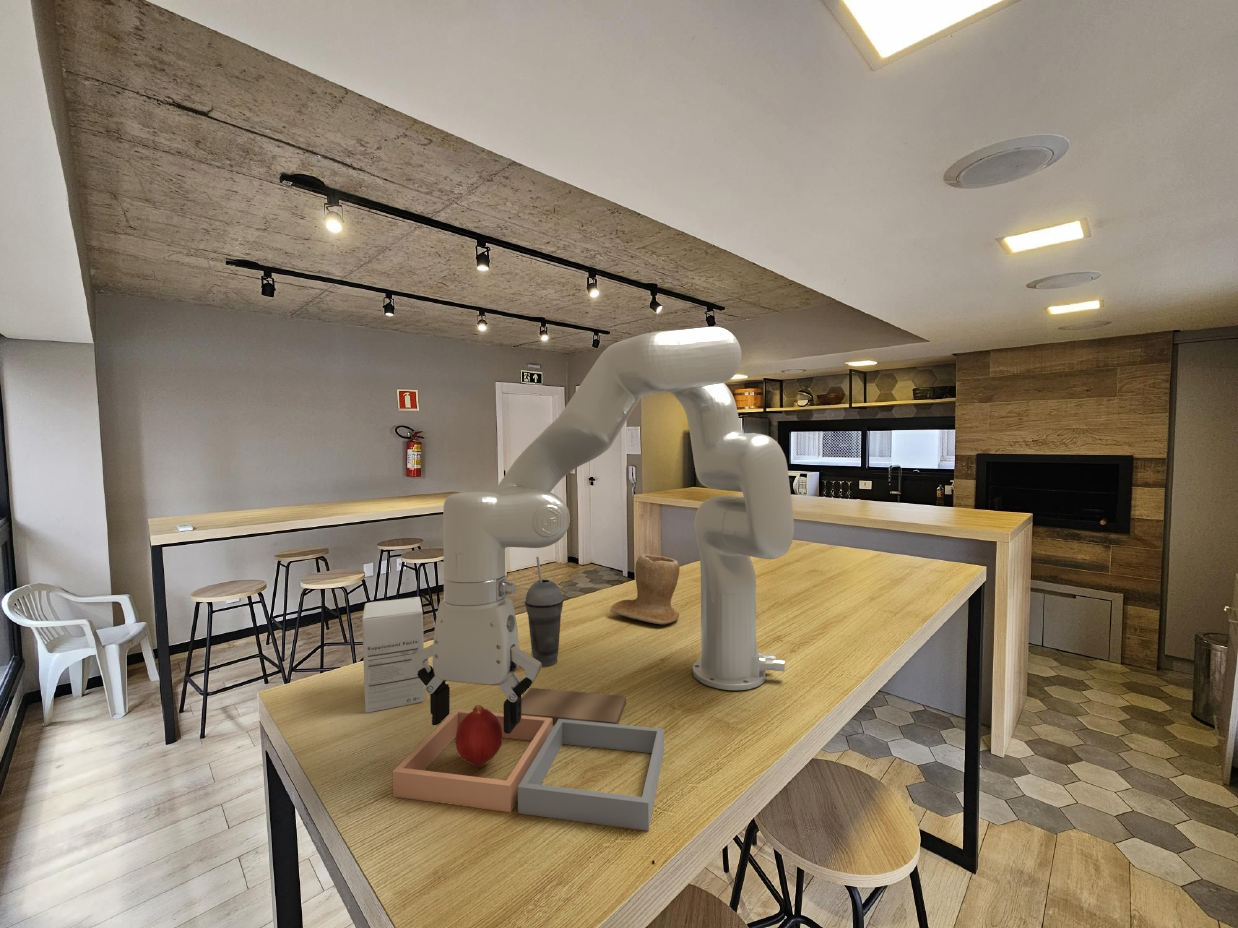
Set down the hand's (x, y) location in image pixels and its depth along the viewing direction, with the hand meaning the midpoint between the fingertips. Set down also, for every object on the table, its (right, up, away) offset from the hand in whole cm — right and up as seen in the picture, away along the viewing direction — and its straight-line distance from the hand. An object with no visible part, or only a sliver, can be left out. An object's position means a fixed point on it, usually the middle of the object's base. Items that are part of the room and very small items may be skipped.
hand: (475, 723), depth 66 cm
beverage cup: (+4, -5, +32) cm, 33 cm away
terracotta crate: (0, -6, 0) cm, 6 cm away
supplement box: (-19, -5, +20) cm, 28 cm away
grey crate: (+16, -5, -3) cm, 17 cm away
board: (+11, -5, +14) cm, 18 cm away
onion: (0, -6, 0) cm, 6 cm away
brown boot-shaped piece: (+25, -4, +57) cm, 62 cm away
